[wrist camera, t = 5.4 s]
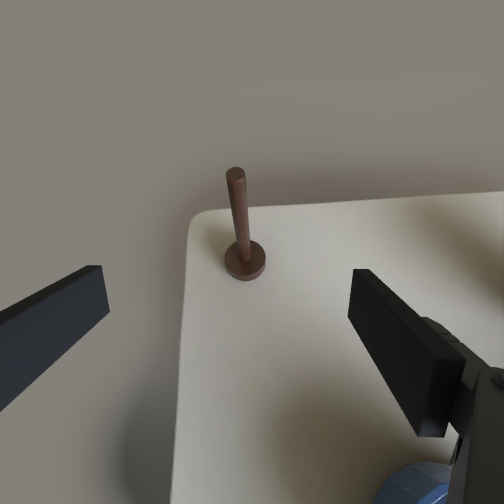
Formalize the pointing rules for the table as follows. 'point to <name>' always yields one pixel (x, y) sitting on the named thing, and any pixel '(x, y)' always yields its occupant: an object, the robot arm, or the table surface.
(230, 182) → the paper towel holder
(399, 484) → the bowl
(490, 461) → the robot arm
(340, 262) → the table surface
